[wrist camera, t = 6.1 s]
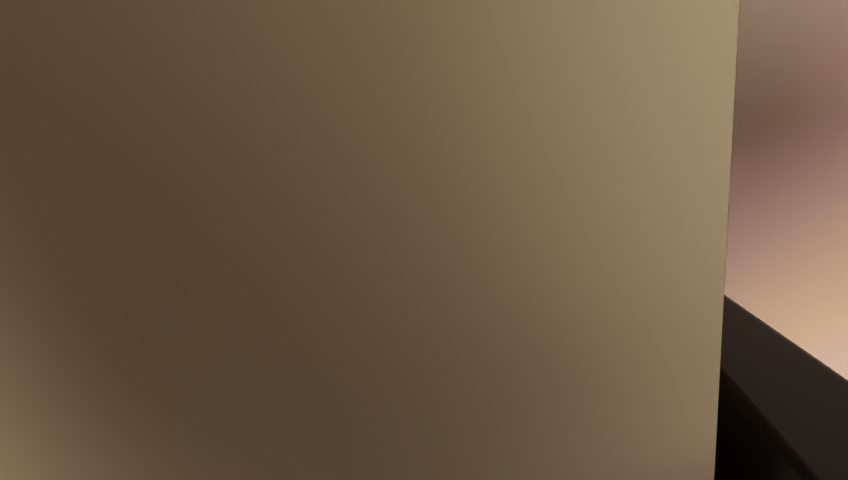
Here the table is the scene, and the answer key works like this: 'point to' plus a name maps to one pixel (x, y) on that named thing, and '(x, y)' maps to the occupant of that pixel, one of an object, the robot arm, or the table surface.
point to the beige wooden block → (363, 238)
